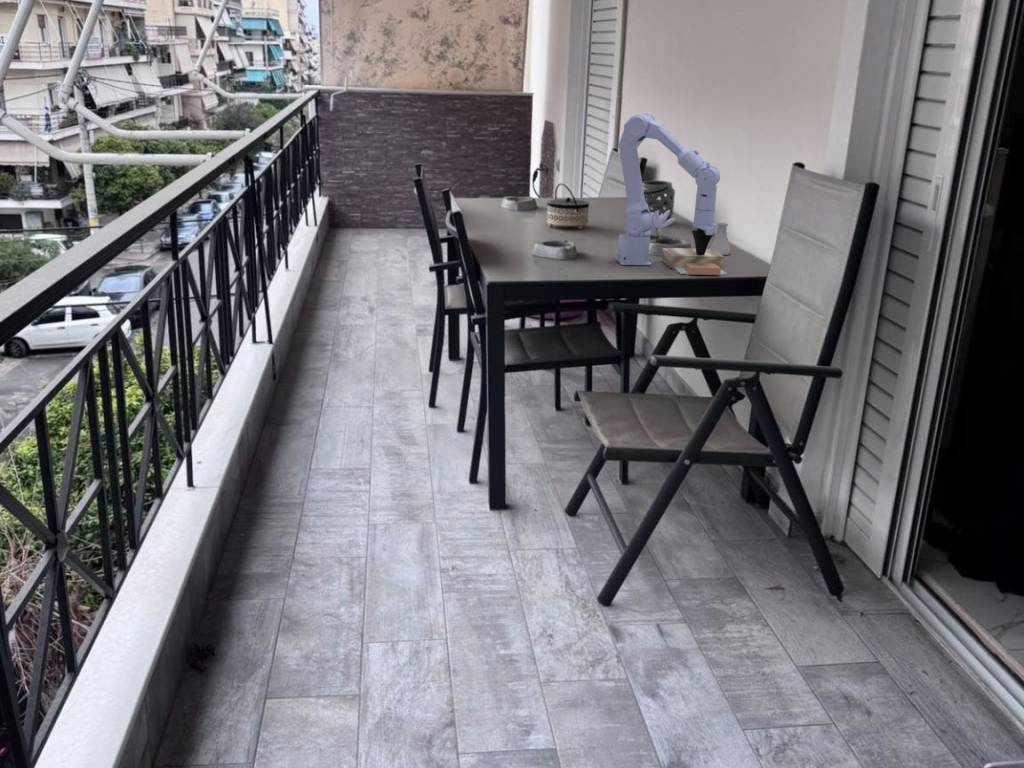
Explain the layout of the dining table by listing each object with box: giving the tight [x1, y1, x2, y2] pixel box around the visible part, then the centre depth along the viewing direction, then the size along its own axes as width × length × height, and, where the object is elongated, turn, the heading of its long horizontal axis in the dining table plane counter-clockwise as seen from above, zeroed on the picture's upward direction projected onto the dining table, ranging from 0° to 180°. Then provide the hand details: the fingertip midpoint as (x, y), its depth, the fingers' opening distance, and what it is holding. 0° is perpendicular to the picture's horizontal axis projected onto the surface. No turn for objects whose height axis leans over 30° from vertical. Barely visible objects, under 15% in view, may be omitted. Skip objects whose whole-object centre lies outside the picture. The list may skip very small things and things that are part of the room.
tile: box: [685, 263, 721, 276], centre depth 271 cm, size 9×6×2 cm, turn 95°
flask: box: [708, 222, 732, 256], centre depth 299 cm, size 7×7×10 cm
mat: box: [673, 267, 728, 276], centre depth 274 cm, size 14×8×1 cm, turn 94°
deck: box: [661, 247, 725, 271], centre depth 282 cm, size 16×12×4 cm
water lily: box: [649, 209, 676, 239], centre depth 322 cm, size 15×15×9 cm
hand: (700, 254), depth 274 cm, fingers closed
